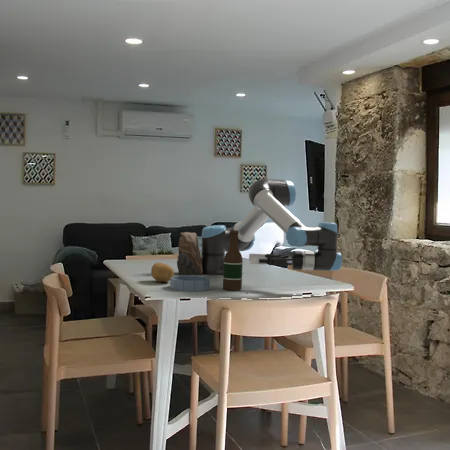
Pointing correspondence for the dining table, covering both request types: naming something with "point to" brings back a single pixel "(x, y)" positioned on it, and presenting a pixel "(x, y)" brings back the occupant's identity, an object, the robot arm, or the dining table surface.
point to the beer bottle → (233, 265)
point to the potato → (162, 272)
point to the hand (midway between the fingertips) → (249, 258)
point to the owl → (189, 255)
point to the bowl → (190, 283)
